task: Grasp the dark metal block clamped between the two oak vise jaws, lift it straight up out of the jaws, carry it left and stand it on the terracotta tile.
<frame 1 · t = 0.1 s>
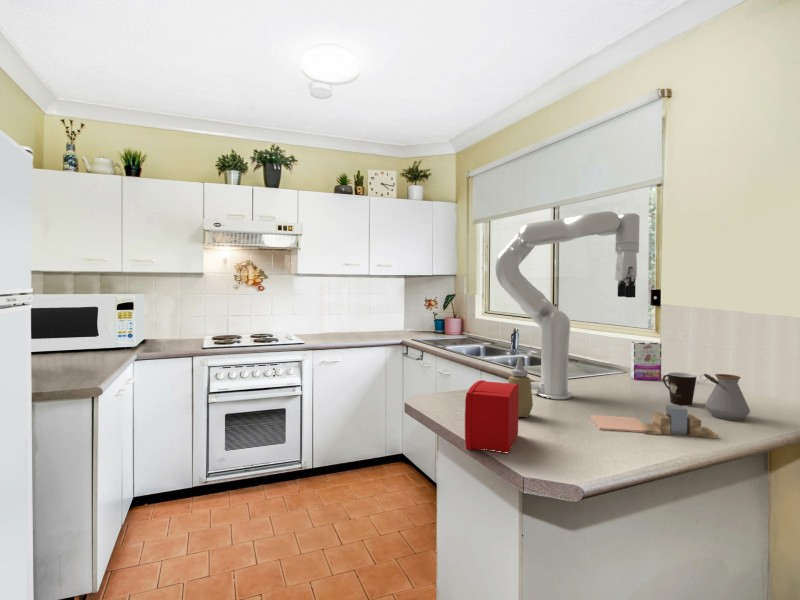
hand: (626, 297, 164), 37 cm above the countertop, tool pointing down, fingers open, 9 cm apart
coffee mug: (679, 402, 162), on the countertop
red rounded box: (492, 442, 120), on the countertop
oak vise: (676, 432, 128), on the countertop
metal block: (676, 432, 128), on the countertop
candy bar box: (645, 379, 201), on the countertop
terracotta tile: (618, 424, 135), on the countertop
squeeze bottle: (519, 416, 144), on the countertop
coffee pot: (719, 419, 141), on the countertop
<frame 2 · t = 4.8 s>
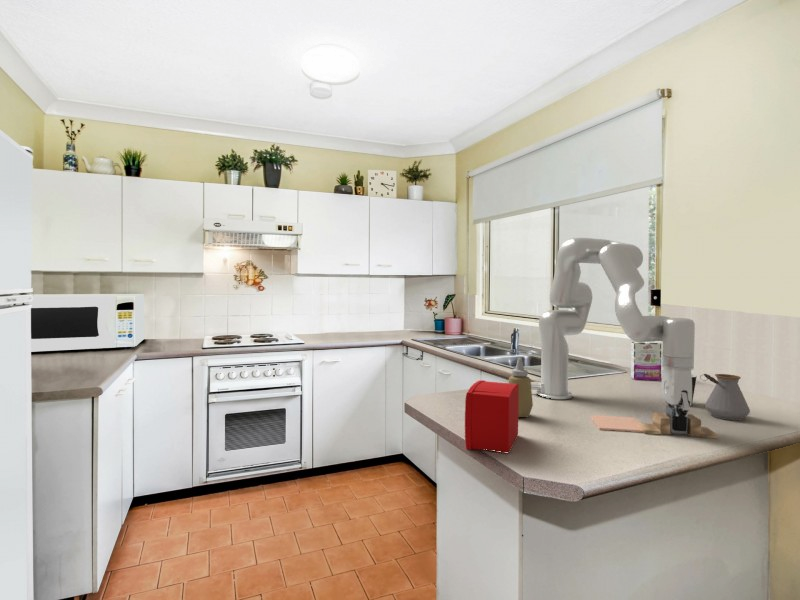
hand: (676, 427, 128), 1 cm above the countertop, tool pointing down, fingers closed on metal block, 4 cm apart
metal block: (676, 432, 128), on the countertop, touching gripper
everything else where it was.
when the fingers open (3 cm above the countertop, at t = 10.6 s): metal block stays where it is, resting on terracotta tile.
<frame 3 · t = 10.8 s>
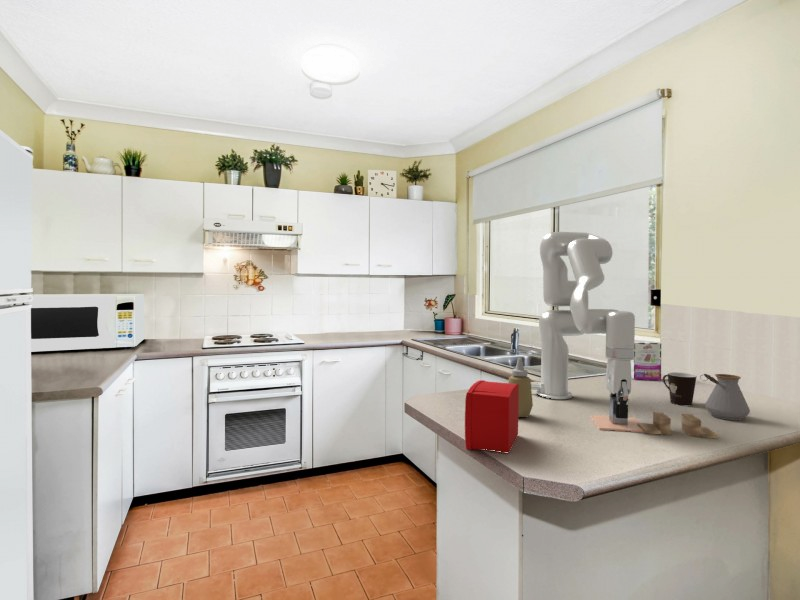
hand: (618, 414, 135), 3 cm above the countertop, tool pointing down, fingers open, 6 cm apart
metal block: (618, 422, 135), point 1 cm above the countertop, touching terracotta tile
everything else where it was.
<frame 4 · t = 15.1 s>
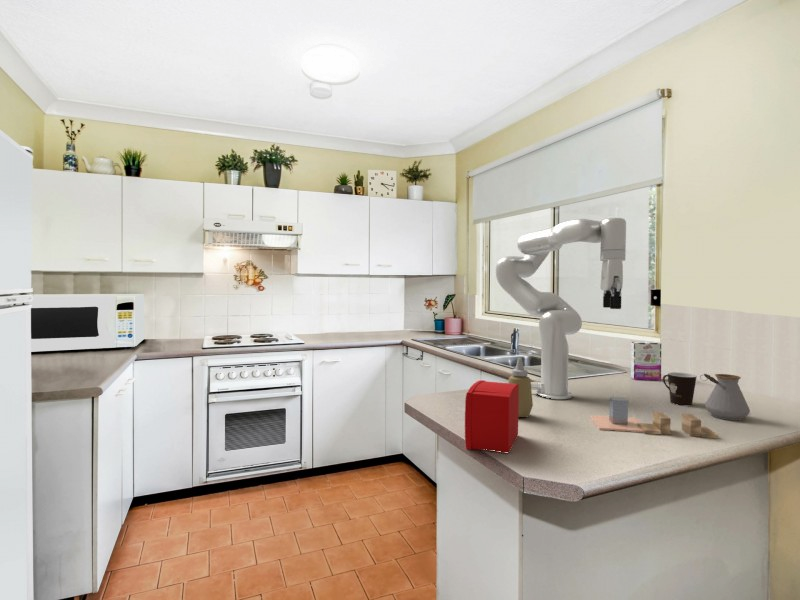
hand: (611, 308, 152), 33 cm above the countertop, tool pointing down, fingers open, 9 cm apart
nothing on the countertop moved.
at the end: metal block inside the target area on the terracotta tile (0.1 cm from its centre), point 0.6 cm above the terracotta tile's base; metal block tilted 0°; the gripper is holding nothing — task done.
